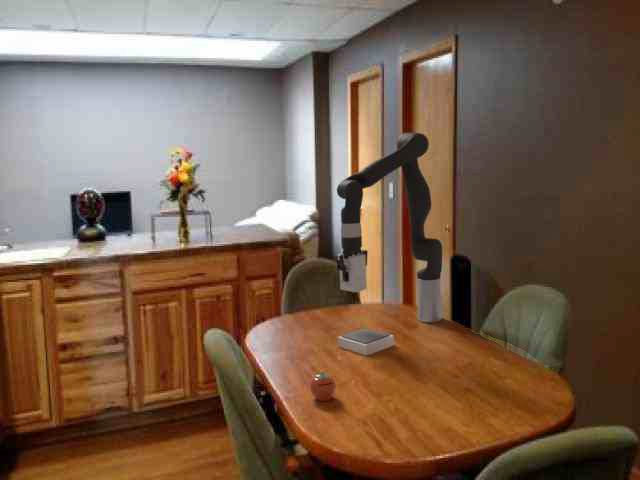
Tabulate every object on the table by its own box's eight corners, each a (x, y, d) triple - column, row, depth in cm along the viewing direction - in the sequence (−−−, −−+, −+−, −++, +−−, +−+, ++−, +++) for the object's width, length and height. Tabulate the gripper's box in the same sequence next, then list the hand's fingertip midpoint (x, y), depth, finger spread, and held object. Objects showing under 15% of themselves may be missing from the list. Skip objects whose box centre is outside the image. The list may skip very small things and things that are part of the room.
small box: (367, 289, 212) (365, 254, 210) (354, 292, 208) (352, 257, 206) (352, 286, 218) (351, 252, 216) (339, 289, 214) (338, 255, 212)
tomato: (314, 405, 157) (312, 377, 156) (307, 395, 164) (305, 368, 163) (339, 401, 159) (338, 373, 158) (331, 391, 166) (330, 364, 165)
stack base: (365, 337, 214) (365, 326, 213) (393, 345, 204) (393, 334, 203) (338, 346, 205) (337, 335, 204) (366, 355, 195) (366, 344, 194)
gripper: (358, 232, 217) (359, 275, 220) (329, 236, 208) (331, 281, 211) (372, 233, 212) (374, 277, 214) (343, 238, 203) (345, 284, 205)
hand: (353, 279), depth 212 cm, fingers closed on small box, 6 cm apart
